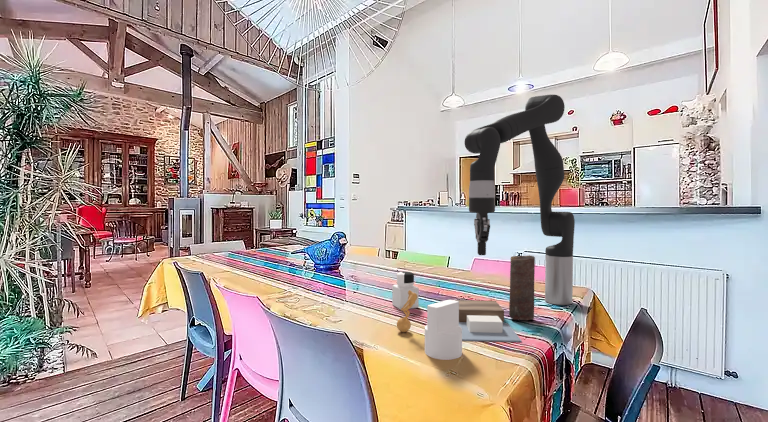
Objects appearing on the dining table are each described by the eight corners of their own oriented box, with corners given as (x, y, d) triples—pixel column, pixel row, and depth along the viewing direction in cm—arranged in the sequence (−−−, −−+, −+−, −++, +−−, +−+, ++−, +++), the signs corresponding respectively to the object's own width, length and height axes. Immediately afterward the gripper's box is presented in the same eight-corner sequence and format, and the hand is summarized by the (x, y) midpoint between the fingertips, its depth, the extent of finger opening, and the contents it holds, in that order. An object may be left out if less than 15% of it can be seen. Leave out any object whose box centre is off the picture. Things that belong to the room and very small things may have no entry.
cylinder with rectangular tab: (440, 343, 103) (440, 297, 102) (469, 352, 96) (469, 303, 96) (417, 352, 96) (417, 303, 96) (446, 363, 90) (446, 310, 90)
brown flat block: (452, 311, 132) (453, 300, 132) (495, 312, 131) (495, 300, 131) (456, 322, 120) (457, 309, 120) (503, 323, 119) (504, 310, 119)
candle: (536, 324, 118) (536, 257, 118) (510, 322, 120) (511, 257, 119) (531, 317, 126) (532, 254, 125) (507, 315, 127) (508, 254, 127)
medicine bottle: (410, 303, 143) (410, 270, 143) (418, 307, 137) (418, 273, 136) (392, 304, 141) (392, 271, 141) (399, 309, 134) (399, 274, 134)
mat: (453, 323, 119) (453, 321, 119) (507, 324, 118) (507, 323, 118) (459, 340, 104) (459, 339, 104) (521, 342, 103) (521, 340, 103)
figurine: (403, 326, 116) (403, 286, 116) (422, 329, 113) (422, 288, 113) (390, 335, 108) (390, 291, 108) (410, 338, 106) (410, 294, 105)
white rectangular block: (469, 321, 110) (469, 332, 110) (502, 322, 109) (502, 332, 109) (466, 315, 116) (466, 325, 116) (497, 315, 115) (497, 326, 115)
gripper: (499, 196, 110) (499, 258, 110) (490, 196, 123) (490, 252, 123) (472, 196, 110) (472, 258, 111) (466, 196, 123) (465, 252, 124)
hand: (481, 254), depth 117 cm, fingers closed
